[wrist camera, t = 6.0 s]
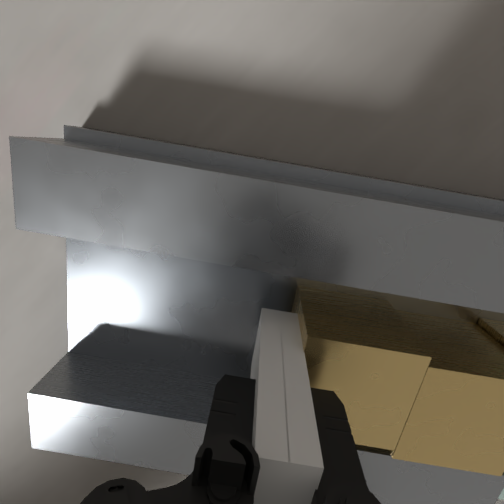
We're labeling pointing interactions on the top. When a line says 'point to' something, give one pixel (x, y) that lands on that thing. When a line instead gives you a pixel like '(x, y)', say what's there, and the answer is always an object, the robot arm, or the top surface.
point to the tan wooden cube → (362, 360)
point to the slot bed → (229, 285)
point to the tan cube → (456, 398)
